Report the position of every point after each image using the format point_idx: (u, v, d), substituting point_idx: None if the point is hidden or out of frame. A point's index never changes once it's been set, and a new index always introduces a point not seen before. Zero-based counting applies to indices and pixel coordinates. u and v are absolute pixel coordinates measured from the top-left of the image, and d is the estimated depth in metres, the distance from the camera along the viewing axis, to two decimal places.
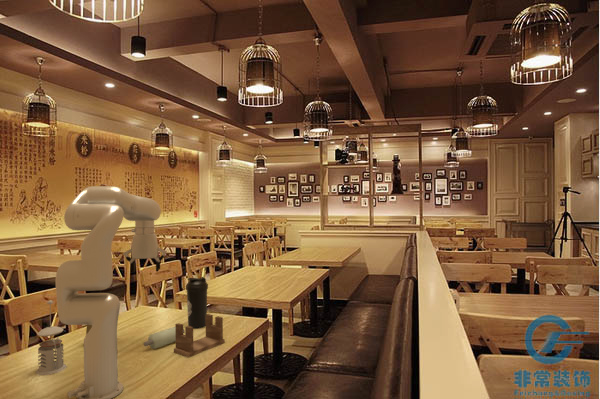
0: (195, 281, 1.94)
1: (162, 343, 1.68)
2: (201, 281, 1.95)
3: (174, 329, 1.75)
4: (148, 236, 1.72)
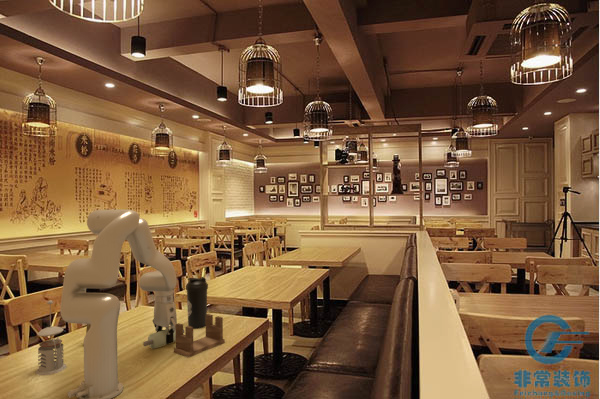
0: (195, 281, 1.94)
1: (162, 343, 1.68)
2: (201, 281, 1.95)
3: None
4: None
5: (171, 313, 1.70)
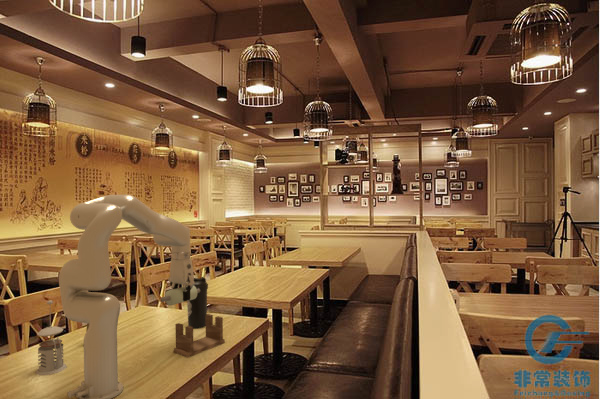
0: (195, 281, 1.94)
1: (179, 299, 1.66)
2: (201, 281, 1.95)
3: None
4: None
5: (188, 270, 1.67)
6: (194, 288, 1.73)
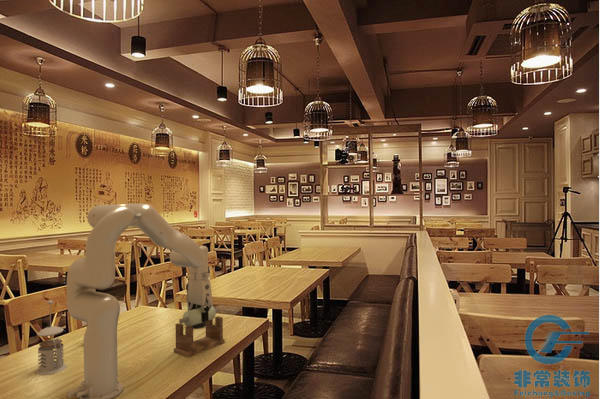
0: None
1: (198, 321, 1.64)
2: None
3: None
4: None
5: (207, 290, 1.65)
6: (212, 308, 1.71)
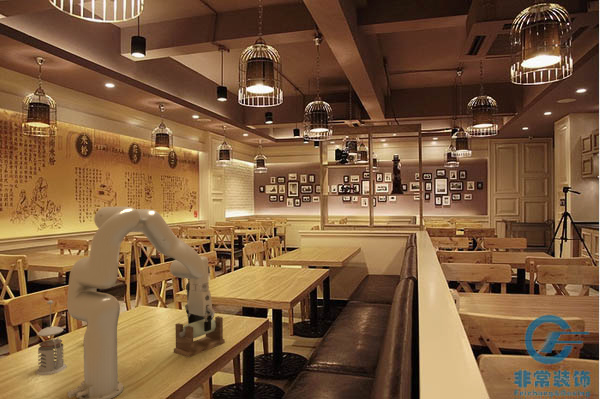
0: None
1: (198, 334, 1.64)
2: None
3: None
4: None
5: (207, 301, 1.65)
6: (212, 321, 1.71)
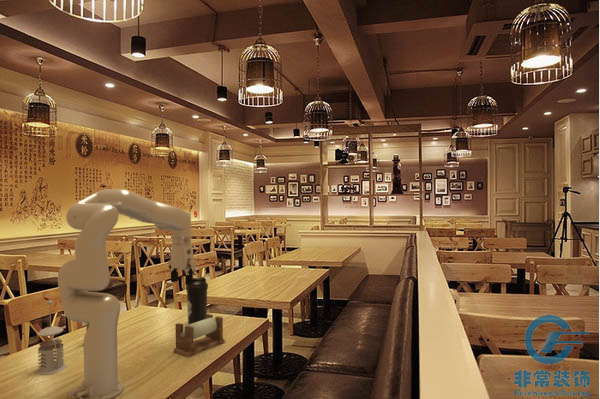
0: (195, 281, 1.94)
1: (196, 337, 1.65)
2: (201, 281, 1.95)
3: (212, 325, 1.70)
4: None
5: (188, 255, 1.66)
6: (214, 327, 1.70)
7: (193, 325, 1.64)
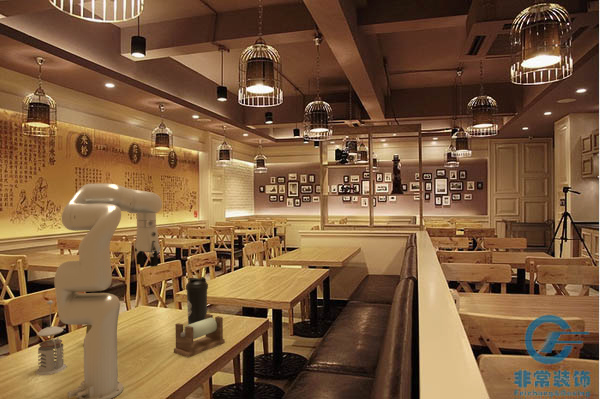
0: (195, 281, 1.94)
1: (196, 337, 1.65)
2: (201, 281, 1.95)
3: (212, 325, 1.70)
4: None
5: (153, 237, 1.69)
6: (214, 327, 1.70)
7: (193, 325, 1.64)
